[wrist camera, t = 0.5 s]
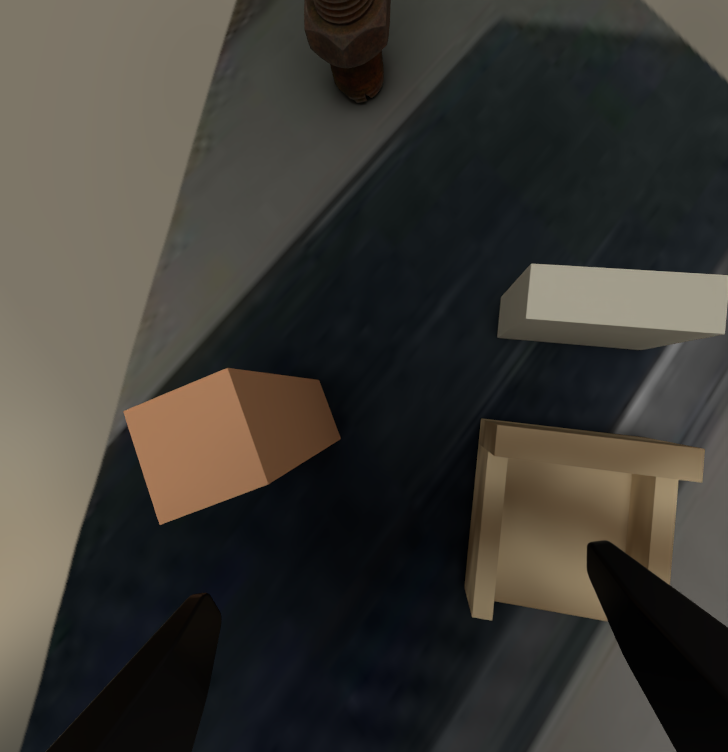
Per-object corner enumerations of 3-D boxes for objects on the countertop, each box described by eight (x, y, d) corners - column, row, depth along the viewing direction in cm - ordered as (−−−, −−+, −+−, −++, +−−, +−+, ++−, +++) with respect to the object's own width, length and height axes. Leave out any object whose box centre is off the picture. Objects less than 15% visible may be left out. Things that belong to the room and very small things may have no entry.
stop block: (640, 350, 22) (724, 334, 16) (497, 337, 23) (525, 318, 17) (644, 307, 22) (729, 275, 16) (501, 297, 23) (531, 263, 17)
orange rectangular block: (340, 438, 24) (268, 484, 12) (284, 460, 24) (159, 524, 12) (319, 380, 24) (227, 367, 12) (263, 402, 25) (123, 411, 13)
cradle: (629, 616, 21) (686, 675, 17) (464, 587, 22) (476, 635, 18) (644, 437, 21) (704, 449, 17) (481, 418, 23) (497, 424, 18)
